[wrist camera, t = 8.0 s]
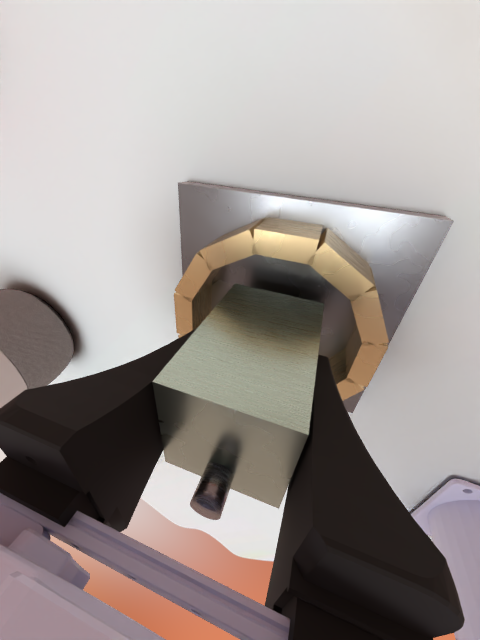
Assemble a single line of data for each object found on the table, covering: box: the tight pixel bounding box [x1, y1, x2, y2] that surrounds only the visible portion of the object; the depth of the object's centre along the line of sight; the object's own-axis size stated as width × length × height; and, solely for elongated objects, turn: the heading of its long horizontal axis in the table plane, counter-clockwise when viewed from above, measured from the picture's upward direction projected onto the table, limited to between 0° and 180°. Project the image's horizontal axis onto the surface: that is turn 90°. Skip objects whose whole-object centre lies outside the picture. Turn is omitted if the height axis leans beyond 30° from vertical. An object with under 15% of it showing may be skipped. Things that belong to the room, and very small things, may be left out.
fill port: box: [174, 181, 453, 413], centre depth 14 cm, size 12×12×4 cm
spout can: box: [152, 283, 324, 520], centre depth 10 cm, size 4×4×8 cm
